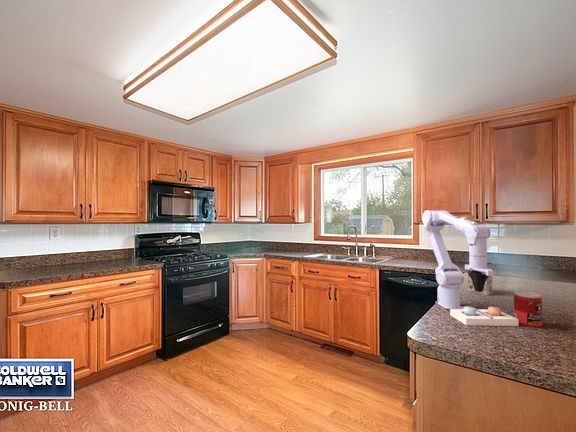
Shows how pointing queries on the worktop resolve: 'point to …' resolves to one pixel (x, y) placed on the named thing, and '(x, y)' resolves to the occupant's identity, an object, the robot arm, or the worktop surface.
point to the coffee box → (487, 287)
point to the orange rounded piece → (494, 311)
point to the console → (484, 318)
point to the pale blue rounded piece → (469, 311)
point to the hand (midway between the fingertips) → (478, 291)
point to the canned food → (528, 308)
